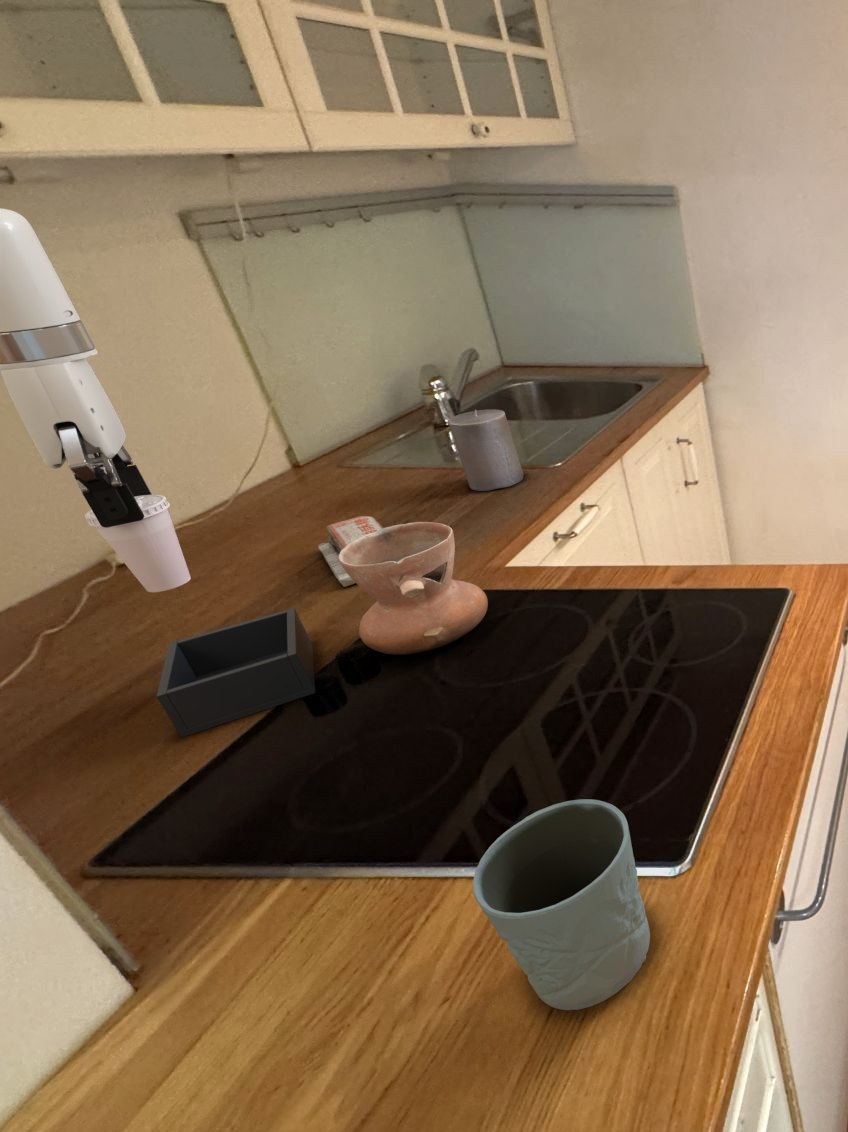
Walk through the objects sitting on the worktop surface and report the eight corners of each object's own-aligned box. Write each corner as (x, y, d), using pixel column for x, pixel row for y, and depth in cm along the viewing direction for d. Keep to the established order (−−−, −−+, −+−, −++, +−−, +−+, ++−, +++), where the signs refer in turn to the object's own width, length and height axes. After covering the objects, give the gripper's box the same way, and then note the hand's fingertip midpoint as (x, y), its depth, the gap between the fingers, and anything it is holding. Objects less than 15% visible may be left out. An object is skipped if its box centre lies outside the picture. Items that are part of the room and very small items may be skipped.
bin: (181, 737, 86) (156, 696, 83) (191, 681, 95) (168, 642, 93) (315, 693, 92) (296, 653, 90) (312, 644, 102) (294, 607, 100)
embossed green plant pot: (670, 895, 65) (640, 790, 60) (646, 1012, 56) (608, 901, 51) (545, 914, 64) (503, 808, 59) (499, 1037, 55) (445, 925, 50)
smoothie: (184, 566, 90) (124, 454, 84) (219, 574, 88) (160, 460, 82) (116, 593, 85) (46, 476, 78) (151, 602, 83) (82, 482, 76)
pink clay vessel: (504, 642, 101) (471, 546, 95) (372, 686, 93) (326, 585, 87) (482, 589, 114) (451, 502, 108) (365, 624, 106) (324, 532, 100)
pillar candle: (496, 471, 159) (474, 401, 152) (535, 475, 156) (514, 403, 150) (457, 489, 150) (432, 416, 144) (498, 493, 148) (474, 419, 141)
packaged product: (308, 527, 125) (380, 507, 131) (320, 553, 127) (390, 533, 133) (330, 561, 113) (408, 538, 120) (343, 589, 115) (418, 565, 122)
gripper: (2, 338, 79) (94, 498, 86) (-49, 368, 66) (63, 551, 74) (104, 327, 83) (183, 481, 91) (73, 353, 71) (168, 528, 78)
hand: (128, 511), depth 82 cm, fingers closed on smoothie, 6 cm apart
